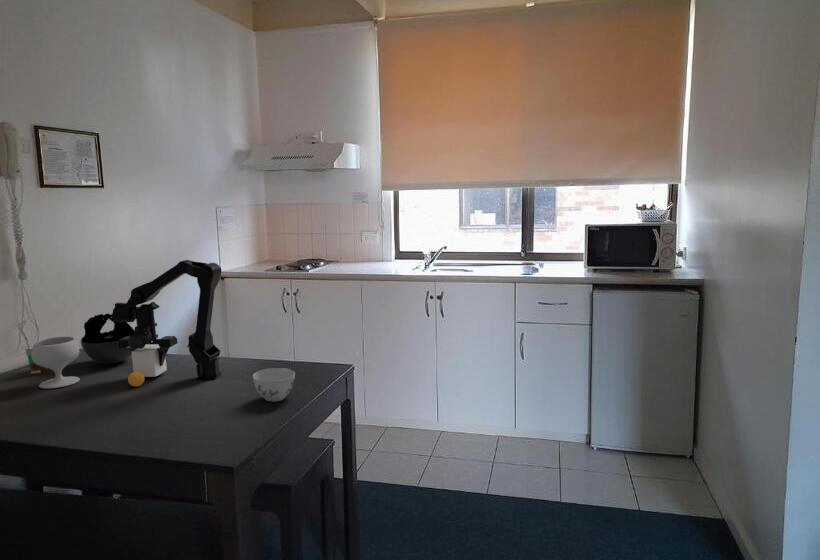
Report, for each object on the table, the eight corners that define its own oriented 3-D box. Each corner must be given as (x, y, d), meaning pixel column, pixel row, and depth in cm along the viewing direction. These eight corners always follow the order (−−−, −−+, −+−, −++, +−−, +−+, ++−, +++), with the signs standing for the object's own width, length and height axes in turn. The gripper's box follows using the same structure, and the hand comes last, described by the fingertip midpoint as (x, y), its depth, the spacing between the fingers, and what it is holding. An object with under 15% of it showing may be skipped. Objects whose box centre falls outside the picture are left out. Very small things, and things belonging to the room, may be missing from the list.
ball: (148, 383, 199) (146, 369, 198) (140, 388, 194) (138, 373, 193) (133, 383, 199) (132, 369, 199) (125, 388, 195) (124, 374, 194)
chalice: (86, 375, 211) (81, 334, 208) (78, 387, 198) (73, 343, 195) (41, 380, 206) (36, 338, 204) (30, 393, 193) (24, 348, 191)
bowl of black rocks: (91, 358, 232) (86, 311, 229) (146, 353, 237) (141, 307, 234) (76, 373, 213) (70, 322, 210) (136, 367, 218) (131, 317, 215)
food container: (46, 376, 211) (42, 349, 209) (28, 376, 211) (25, 349, 209) (66, 366, 223) (63, 340, 221) (50, 366, 223) (47, 340, 221)
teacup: (279, 408, 173) (277, 382, 172) (245, 403, 178) (243, 377, 177) (308, 391, 186) (307, 367, 185) (276, 387, 192) (275, 363, 190)
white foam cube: (166, 369, 209) (164, 345, 208) (155, 376, 202) (153, 351, 200) (145, 369, 210) (143, 345, 209) (134, 376, 202) (131, 351, 201)
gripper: (105, 327, 196) (111, 373, 199) (159, 327, 194) (164, 373, 197) (124, 320, 207) (129, 363, 209) (176, 319, 205) (180, 363, 208)
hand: (150, 365), depth 206 cm, fingers closed on white foam cube, 8 cm apart
